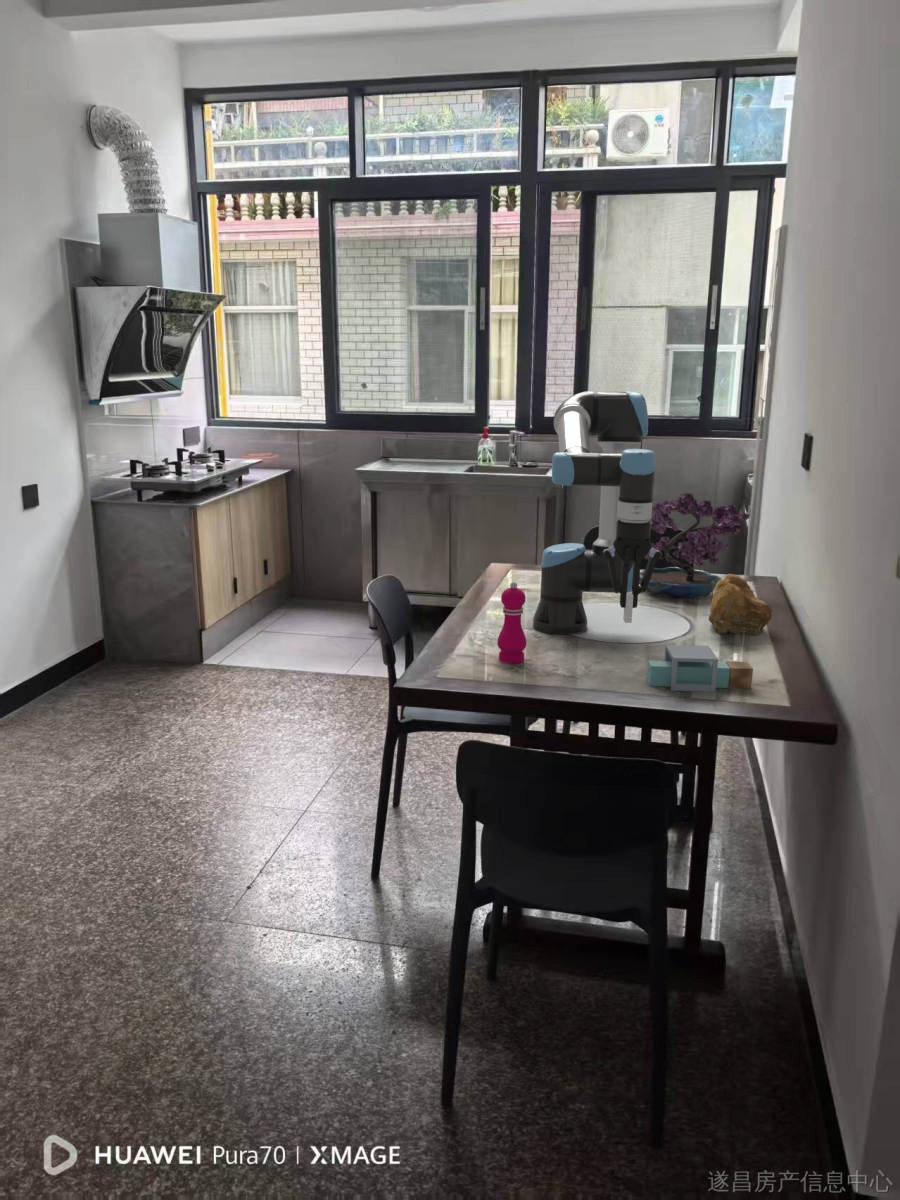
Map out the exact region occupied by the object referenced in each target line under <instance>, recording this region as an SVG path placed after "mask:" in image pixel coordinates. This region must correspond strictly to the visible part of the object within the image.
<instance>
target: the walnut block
mask: <svg viewBox="0 0 900 1200" xmlns="http://www.w3.org/2000/svg"><path fill="white" fill-rule="evenodd" d="M725 663H727V665H728V666H729V667H730V677H729V687H728V688H727V689H731V690H732V689H734V690H739V689H740V690H751V689H752V684H753V683H752V682H753V673H754V668H753V667H752V665H751V664H750V663H749V662H748V661H733V660H732V661H731V660H729V661H728V660H727V661H725Z"/></svg>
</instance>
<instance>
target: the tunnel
mask: <svg viewBox="0 0 900 1200" xmlns="http://www.w3.org/2000/svg"><path fill="white" fill-rule="evenodd" d="M664 647H665V648H664V660H663V661H672V670H671V683H670V686H669V689H670V691H671V692H673V691H675V692H676V691H678V692H679V691H680V692H709V693H713V692H714V693H715V692H716V690H717V689H716V678H717V667H718V663H719V658H718V657H717V656H716V654H715V653H714V652H713V650H712V648H711V647H710V646H709V645H699V644H697V645H695V644H694V645H691V644H688V645H687V644H665V646H664ZM678 662H712V671H711V683H710V684H696V683H676V675H677V663H678Z"/></svg>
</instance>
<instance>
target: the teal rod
mask: <svg viewBox="0 0 900 1200" xmlns="http://www.w3.org/2000/svg"><path fill="white" fill-rule="evenodd" d="M671 670H672V661H664V660H647V671H646V672H647V673H646V675H647V676H646V681H647V683H648V685H649V686H650V687H670V683H671ZM711 671H712V662H678V663H677V675H676V683H696V684H710V683H711ZM729 677H730V667H729V666H728V665H727V663H726V662H718V667H717V678H716V688H718V689H719V688H721V689H722V688H724V689H729V688H728V687H729Z"/></svg>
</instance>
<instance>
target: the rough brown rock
mask: <svg viewBox="0 0 900 1200" xmlns="http://www.w3.org/2000/svg"><path fill="white" fill-rule="evenodd" d="M772 612H773V609H772V607H771V606H770V605H769V604H768V603H767V602H765V601H764V600H762V599H758V598H757V597H756V596H755V593H754V591H753V590H752V588H751V587H750V585H749V584H748V581H747V580H746V579H745V578H743V577H741V576H739V575H737V574H733V573H728V574H726V576H725V577H724V579H721V580H719V581H718V582H717V584H716V586H715V589H714V590H713V595H712V600H711V603H710V610H709V615H708V621H709V623H710V624H713V625H714V627H715V629H716V632H718V633H719V635H723V634H727V633H728V632H729V633H732V634H734V633H735V634H736V633H737V634H738V633H743V632H744V633H748V634H749V635H753V636H758V635H759V634H761V633H762V632H763V630H764V629H765V627H766V625H768V623H769V622H770V621H771V620H772V616H773V615H772V614H773V613H772Z"/></svg>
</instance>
